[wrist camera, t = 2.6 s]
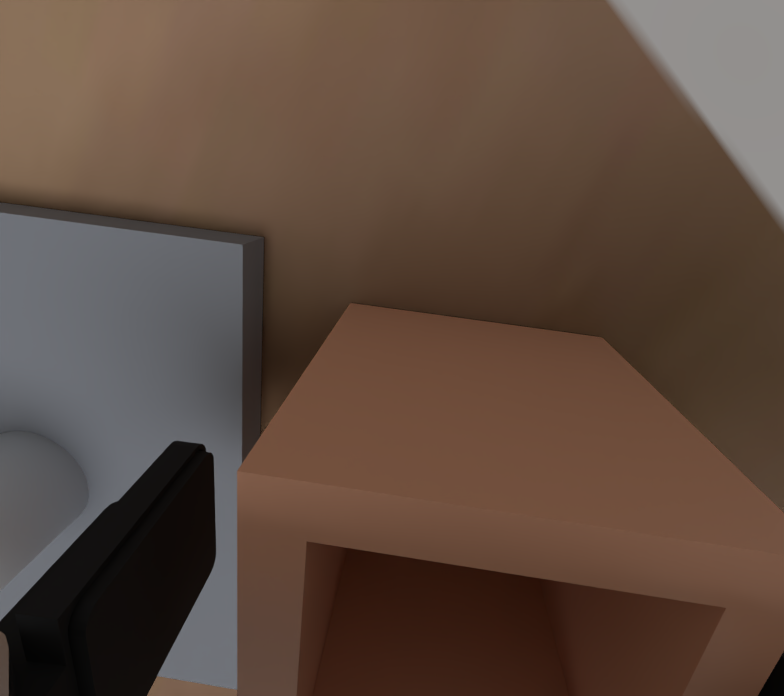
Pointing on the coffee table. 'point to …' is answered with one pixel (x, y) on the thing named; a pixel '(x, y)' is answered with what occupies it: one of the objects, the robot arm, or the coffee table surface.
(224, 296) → the peg on grey base
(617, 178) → the coffee table surface
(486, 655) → the sleeve
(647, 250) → the coffee table surface
